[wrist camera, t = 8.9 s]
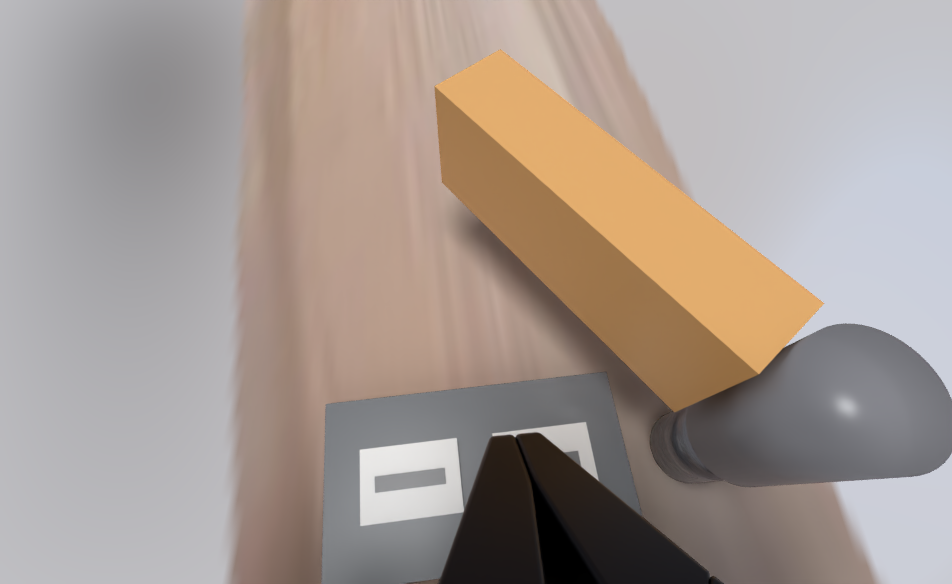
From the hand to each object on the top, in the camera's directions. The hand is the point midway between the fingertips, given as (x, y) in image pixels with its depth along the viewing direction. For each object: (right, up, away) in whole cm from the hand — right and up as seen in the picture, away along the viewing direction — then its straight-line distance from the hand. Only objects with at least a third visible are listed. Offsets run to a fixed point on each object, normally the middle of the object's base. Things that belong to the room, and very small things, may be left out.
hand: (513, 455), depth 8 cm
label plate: (-1, -5, +12) cm, 13 cm away
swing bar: (+4, +2, +11) cm, 12 cm away
